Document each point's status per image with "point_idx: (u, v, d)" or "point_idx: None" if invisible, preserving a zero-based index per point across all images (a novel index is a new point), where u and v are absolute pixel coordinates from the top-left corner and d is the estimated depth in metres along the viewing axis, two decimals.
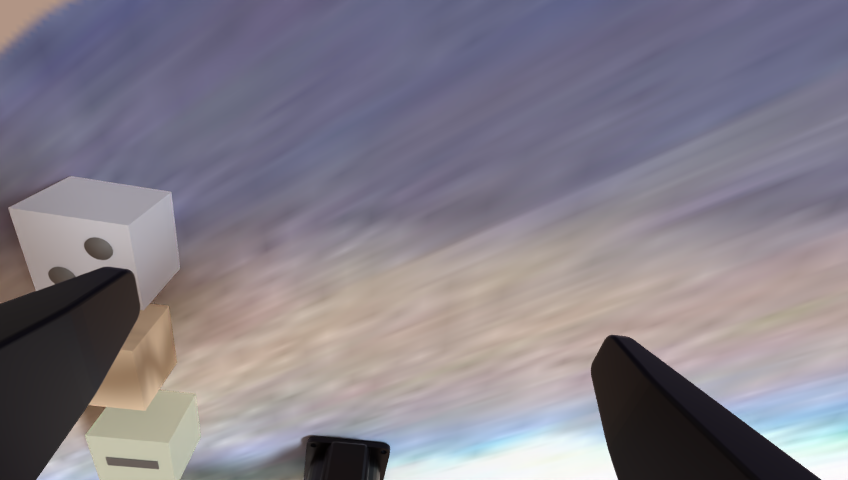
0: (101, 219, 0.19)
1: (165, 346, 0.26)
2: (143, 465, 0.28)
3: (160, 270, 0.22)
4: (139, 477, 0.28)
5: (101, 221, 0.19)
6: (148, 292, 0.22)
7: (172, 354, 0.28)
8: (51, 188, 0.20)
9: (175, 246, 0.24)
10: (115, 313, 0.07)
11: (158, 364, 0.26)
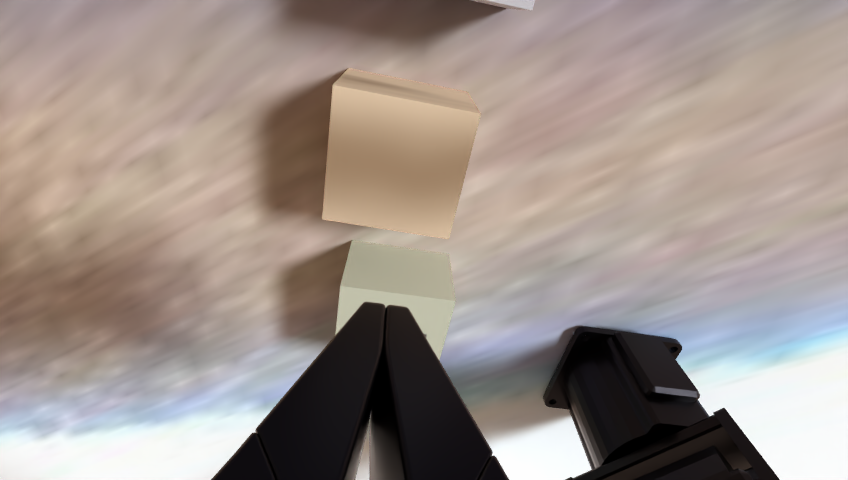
0: None
1: None
2: None
3: None
4: None
5: None
6: None
7: None
8: None
9: None
10: None
11: None
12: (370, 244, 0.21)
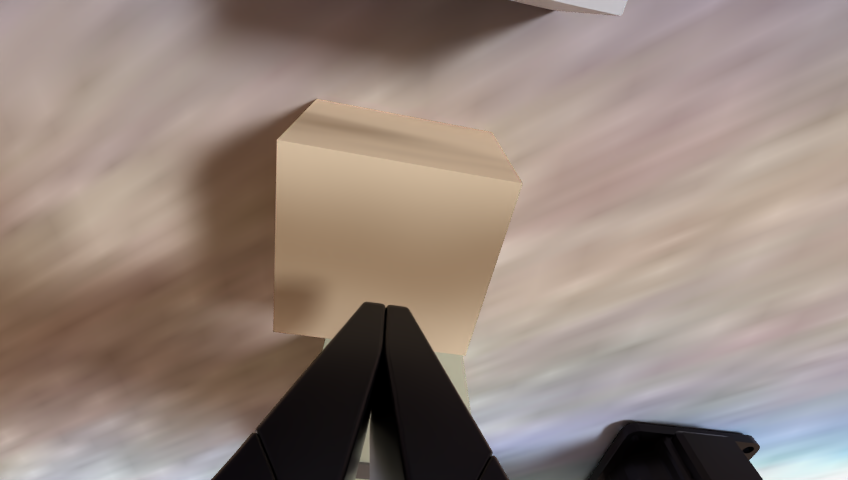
0: None
1: None
2: None
3: None
4: None
5: None
6: None
7: None
8: None
9: None
10: None
11: None
12: None
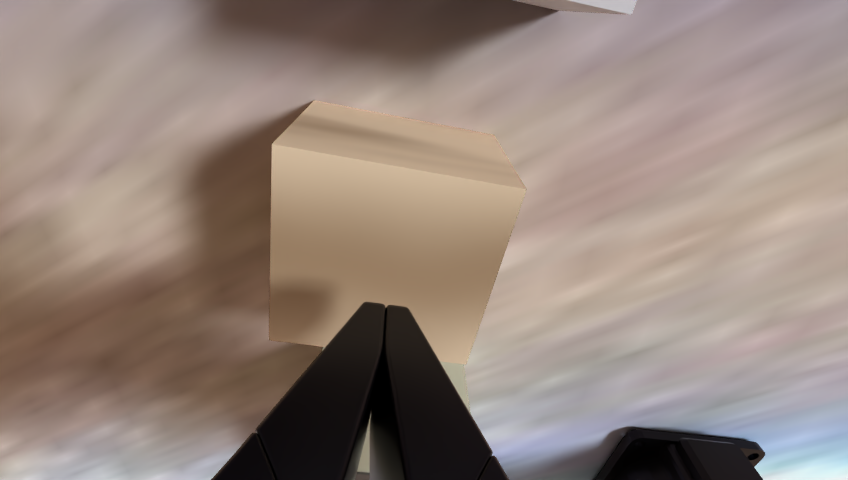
0: None
1: None
2: None
3: None
4: None
5: None
6: None
7: None
8: None
9: None
10: None
11: None
12: None
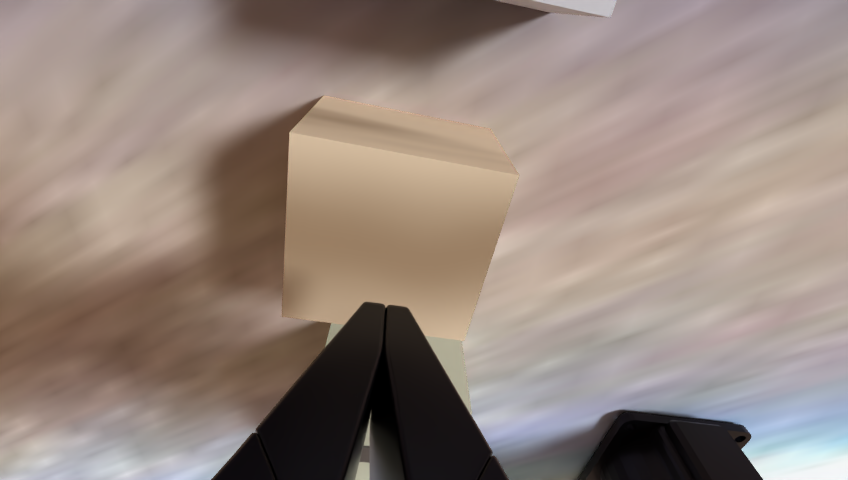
0: None
1: None
2: None
3: None
4: None
5: None
6: None
7: None
8: None
9: None
10: None
11: None
12: None
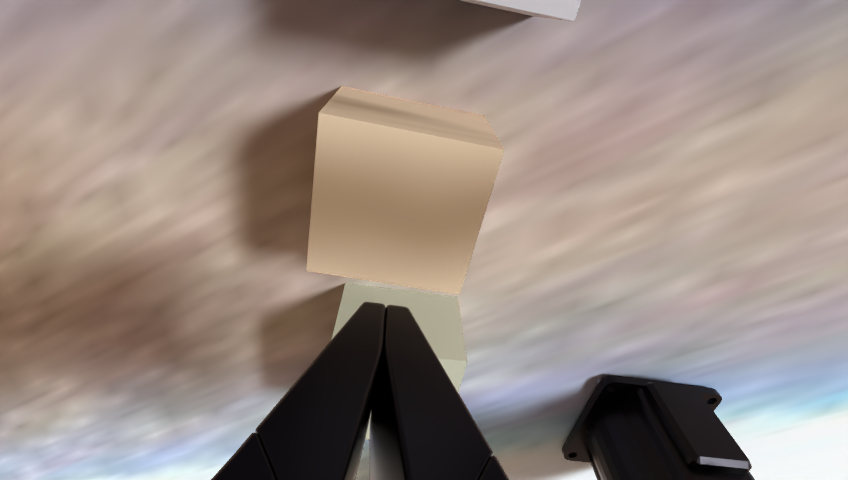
0: None
1: None
2: None
3: None
4: None
5: None
6: None
7: None
8: None
9: None
10: None
11: None
12: (366, 288, 0.18)
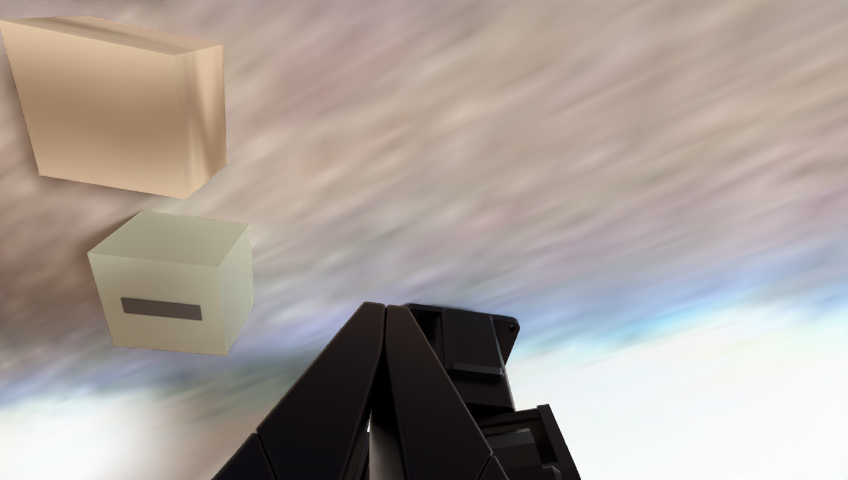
0: None
1: (215, 114, 0.17)
2: (178, 314, 0.18)
3: None
4: (171, 337, 0.19)
5: None
6: None
7: (222, 141, 0.18)
8: None
9: None
10: None
11: (206, 136, 0.16)
12: (161, 214, 0.20)
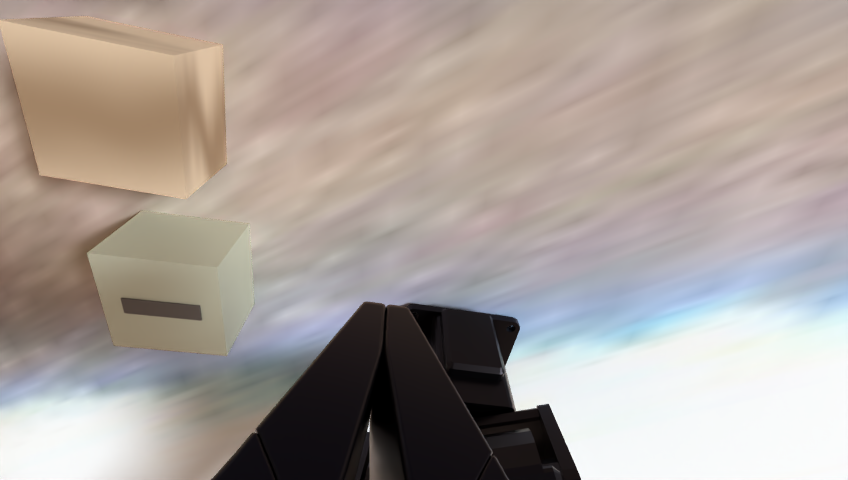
0: None
1: (215, 114, 0.17)
2: (178, 313, 0.18)
3: None
4: (171, 337, 0.19)
5: None
6: None
7: (222, 141, 0.18)
8: None
9: None
10: None
11: (205, 135, 0.16)
12: (160, 214, 0.20)
